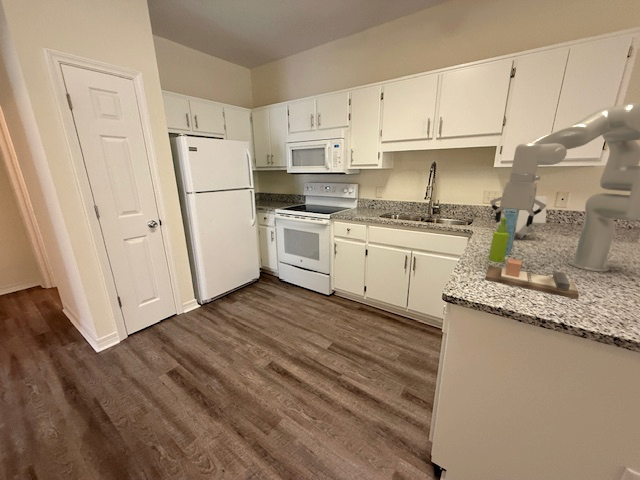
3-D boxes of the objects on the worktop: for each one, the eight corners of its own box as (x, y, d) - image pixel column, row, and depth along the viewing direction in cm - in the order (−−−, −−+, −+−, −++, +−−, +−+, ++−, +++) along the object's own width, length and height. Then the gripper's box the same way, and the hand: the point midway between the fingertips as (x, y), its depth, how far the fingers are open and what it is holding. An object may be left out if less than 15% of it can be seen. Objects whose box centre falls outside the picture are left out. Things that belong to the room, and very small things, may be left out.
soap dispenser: (500, 258, 125) (509, 216, 120) (505, 262, 119) (514, 219, 114) (486, 256, 127) (494, 216, 122) (490, 261, 121) (498, 218, 115)
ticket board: (570, 284, 97) (573, 274, 96) (577, 299, 86) (581, 287, 85) (488, 269, 111) (489, 259, 110) (485, 279, 101) (487, 269, 99)
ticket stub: (526, 273, 102) (529, 260, 101) (527, 282, 94) (530, 267, 93) (501, 269, 107) (504, 256, 105) (500, 277, 99) (503, 263, 98)
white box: (504, 236, 154) (506, 195, 155) (493, 239, 169) (495, 201, 171) (545, 239, 149) (546, 196, 151) (529, 241, 165) (531, 202, 166)
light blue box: (508, 255, 129) (518, 209, 123) (496, 253, 132) (505, 208, 126) (512, 247, 143) (521, 205, 137) (501, 245, 146) (509, 204, 140)
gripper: (553, 179, 94) (541, 226, 98) (497, 178, 106) (489, 219, 110) (551, 180, 89) (539, 229, 93) (492, 178, 101) (484, 222, 105)
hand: (512, 224), depth 102 cm, fingers open, 9 cm apart
